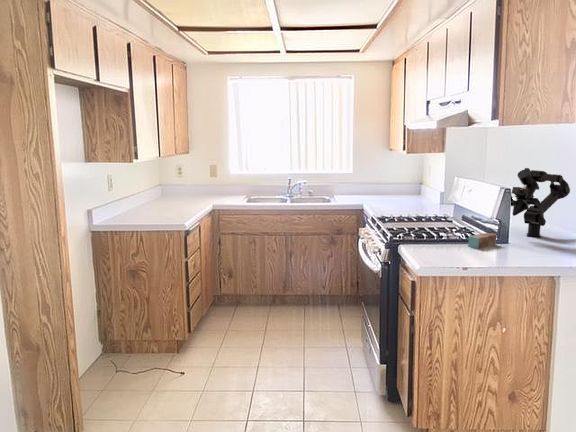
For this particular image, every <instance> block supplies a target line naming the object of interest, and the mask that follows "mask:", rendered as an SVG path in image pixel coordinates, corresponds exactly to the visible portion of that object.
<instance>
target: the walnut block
mask: <svg viewBox="0 0 576 432" xmlns="http://www.w3.org/2000/svg"><path fill="white" fill-rule="evenodd" d="M496 243H497V234H494V233H489V232H485V233H479V234H475V235H469V236H468V245H467V246H468V247H469V248H473V249H477V250H478V249H483V248H487V247H492V246H493V247H494V246H496V245H497V244H496Z"/></svg>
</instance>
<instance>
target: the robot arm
mask: <svg viewBox="0 0 576 432" xmlns="http://www.w3.org/2000/svg"><path fill="white" fill-rule="evenodd" d="M517 177H518V179H519V181H520V183H521V185H523V187H520V186H512V189H511V194H513V195H514V197H513V195H510V196H511V206H510V207H513V209H512V216H514V217H515V216H517V215H519V214H521V213H522V212H524V211H525V212H524V213H523V221H524V224H528V227H527V233H526V237H534V238H541V237H542V236H541V226H542V227H545V225H546V222H547V220H546V219H545V216H544V215H545V214H544V213H546V212H547V211H548V210H549V209H550V208H551V207H552V206H553V205H554V204H555V203H556V202H557V201H558V200H560V199H564V198H566V197H567V196H569V194H570V192H571V187H570V185H569V183H568V182H567V181H566V180H565V179H564V178H563V175H562V174H552V173H551V174H550V173H547V172H546V171H544V170H534V169H532V170H531V169H530V168H529V167H525V168H524V169H521V170H520V171H519V172H518V173H517ZM546 181H547V182H550V184H549V189H550V190H549V193H548V195H547V196H546V197H544V199H543V200H541V201H540V200H539V198H538V197H537V198H536V197H535V196H534V194H535V192H536V190H537V191H538V190H540V186H539V183H545V182H546ZM555 183H558V184H555Z"/></svg>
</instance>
